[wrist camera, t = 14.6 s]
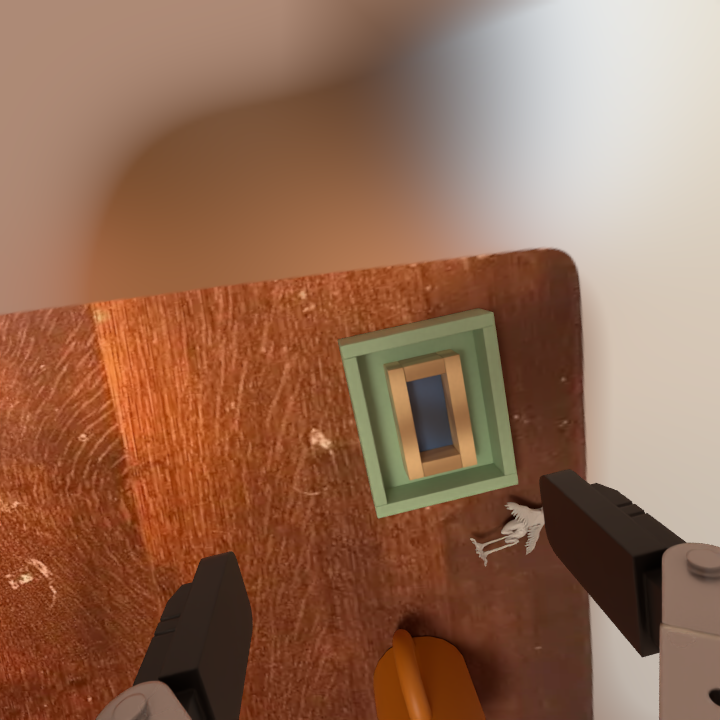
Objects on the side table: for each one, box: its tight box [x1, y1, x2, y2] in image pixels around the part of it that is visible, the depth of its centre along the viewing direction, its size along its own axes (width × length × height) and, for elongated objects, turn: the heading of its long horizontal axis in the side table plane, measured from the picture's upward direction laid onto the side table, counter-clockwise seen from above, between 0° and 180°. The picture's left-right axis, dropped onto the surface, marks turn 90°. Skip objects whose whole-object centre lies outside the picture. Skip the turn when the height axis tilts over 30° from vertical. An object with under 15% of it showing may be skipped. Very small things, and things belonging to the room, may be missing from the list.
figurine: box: [470, 502, 545, 566], centre depth 41 cm, size 6×2×8 cm
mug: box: [373, 629, 486, 720], centre depth 40 cm, size 9×12×9 cm
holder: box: [338, 308, 518, 518], centre depth 38 cm, size 14×12×3 cm
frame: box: [383, 349, 477, 480], centre depth 38 cm, size 9×6×2 cm, turn 12°
